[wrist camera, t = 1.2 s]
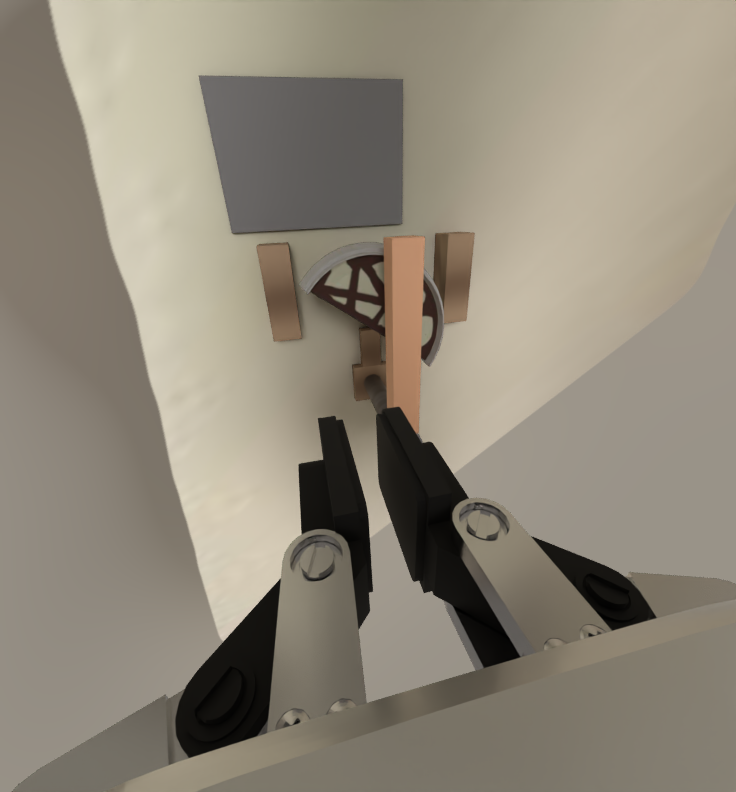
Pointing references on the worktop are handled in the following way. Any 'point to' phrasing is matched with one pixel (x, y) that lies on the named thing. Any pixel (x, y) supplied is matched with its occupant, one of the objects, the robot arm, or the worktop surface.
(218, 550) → the worktop surface
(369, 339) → the wooden blocks
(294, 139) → the mat
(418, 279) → the tall wooden post
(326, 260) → the food container
